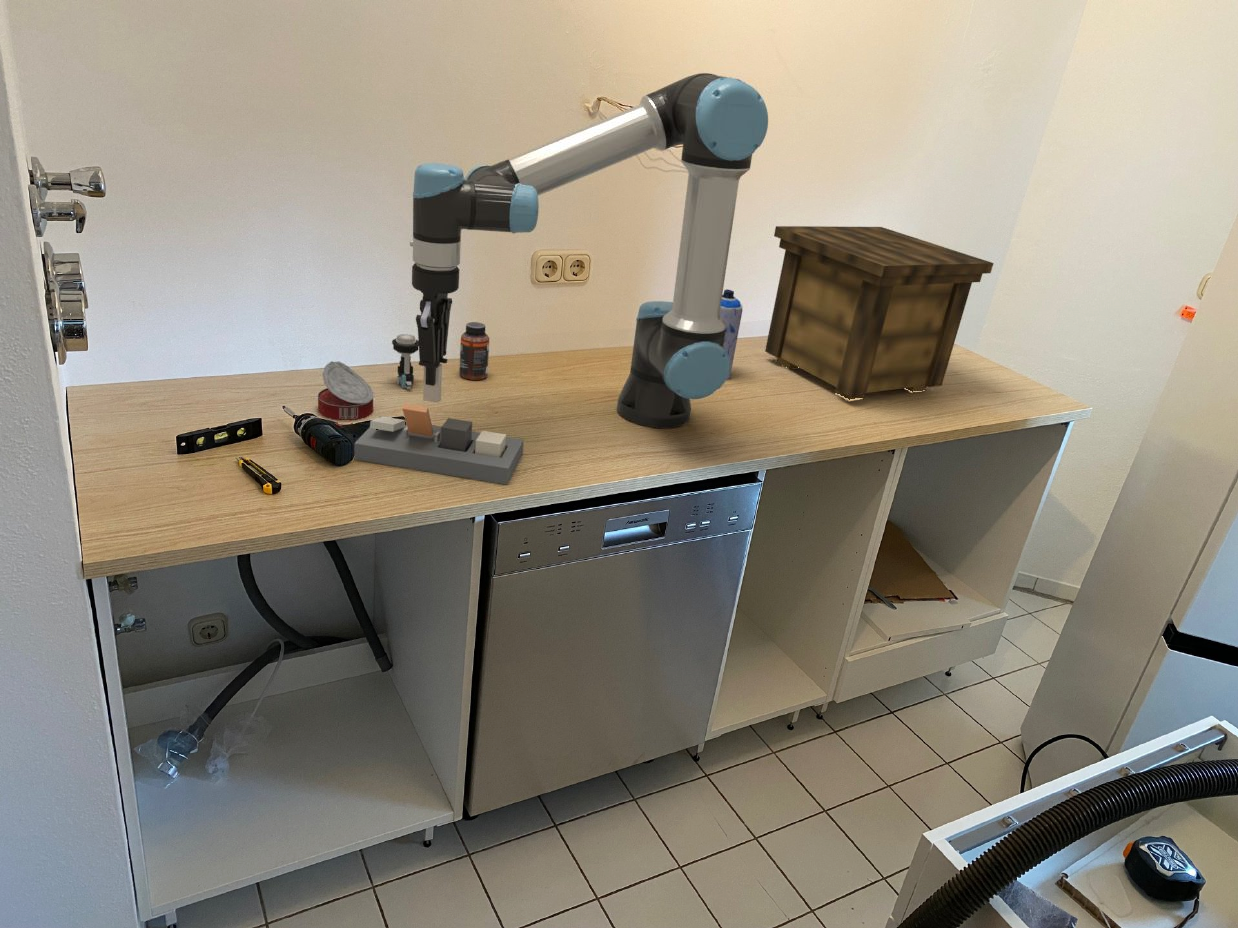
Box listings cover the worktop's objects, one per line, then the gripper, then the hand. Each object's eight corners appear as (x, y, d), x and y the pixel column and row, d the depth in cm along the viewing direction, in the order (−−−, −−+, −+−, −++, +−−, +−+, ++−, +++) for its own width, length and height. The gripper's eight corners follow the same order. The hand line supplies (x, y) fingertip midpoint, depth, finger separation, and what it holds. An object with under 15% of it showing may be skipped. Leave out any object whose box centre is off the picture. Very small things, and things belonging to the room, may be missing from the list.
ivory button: (504, 455, 157) (506, 434, 155) (498, 465, 153) (500, 444, 151) (480, 451, 157) (482, 430, 155) (474, 461, 153) (475, 440, 152)
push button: (422, 391, 181) (423, 343, 177) (395, 392, 179) (396, 344, 175) (415, 379, 187) (416, 332, 182) (389, 380, 185) (389, 333, 180)
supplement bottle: (493, 376, 193) (496, 325, 189) (474, 383, 189) (477, 331, 184) (471, 368, 196) (474, 318, 191) (453, 375, 191) (455, 323, 186)
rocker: (404, 426, 158) (405, 420, 157) (393, 431, 152) (393, 424, 152) (382, 423, 158) (382, 416, 158) (369, 427, 152) (370, 420, 152)
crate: (847, 411, 201) (884, 266, 187) (750, 357, 227) (775, 226, 213) (953, 397, 219) (993, 263, 204) (851, 348, 245) (881, 226, 231)
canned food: (353, 422, 176) (375, 375, 175) (370, 437, 168) (393, 389, 167) (298, 401, 168) (321, 353, 168) (314, 416, 161) (337, 366, 160)
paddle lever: (435, 435, 155) (429, 407, 148) (433, 440, 155) (427, 413, 148) (410, 431, 156) (403, 403, 149) (408, 436, 155) (400, 409, 148)
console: (522, 455, 161) (524, 432, 159) (507, 484, 150) (509, 460, 148) (379, 431, 162) (380, 409, 160) (354, 459, 151) (354, 435, 149)
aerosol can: (737, 377, 212) (753, 294, 203) (714, 382, 207) (729, 297, 199) (714, 366, 217) (728, 284, 209) (690, 370, 212) (704, 287, 204)
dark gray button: (471, 442, 157) (472, 421, 155) (464, 452, 153) (465, 431, 151) (447, 439, 157) (448, 417, 155) (440, 448, 153) (441, 427, 151)
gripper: (425, 253, 152) (422, 383, 163) (400, 270, 141) (398, 410, 151) (469, 259, 152) (463, 390, 162) (447, 277, 140) (442, 417, 151)
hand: (432, 399), depth 157 cm, fingers closed
